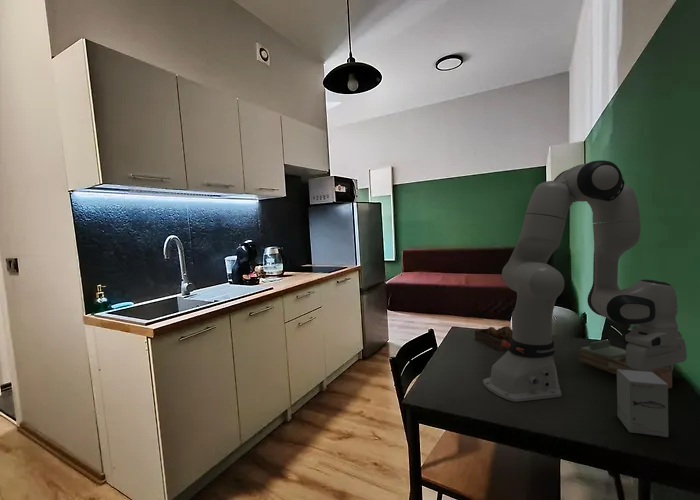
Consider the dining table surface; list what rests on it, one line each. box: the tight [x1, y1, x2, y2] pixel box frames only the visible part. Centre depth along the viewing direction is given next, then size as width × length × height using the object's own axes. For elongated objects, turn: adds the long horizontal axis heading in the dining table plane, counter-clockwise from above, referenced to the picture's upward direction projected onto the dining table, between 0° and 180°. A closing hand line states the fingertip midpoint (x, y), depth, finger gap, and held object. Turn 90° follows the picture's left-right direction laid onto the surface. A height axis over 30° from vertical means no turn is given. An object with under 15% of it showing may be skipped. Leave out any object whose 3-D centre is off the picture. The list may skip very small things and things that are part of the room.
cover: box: [580, 338, 626, 359], centre depth 116 cm, size 10×10×3 cm
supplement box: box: [616, 369, 669, 438], centre depth 79 cm, size 7×7×13 cm
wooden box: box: [579, 344, 663, 376], centre depth 111 cm, size 14×19×4 cm
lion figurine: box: [487, 325, 512, 340], centre depth 139 cm, size 15×5×9 cm, turn 26°
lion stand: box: [474, 327, 512, 353], centre depth 140 cm, size 8×16×4 cm, turn 16°
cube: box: [652, 368, 673, 390], centre depth 97 cm, size 4×4×5 cm
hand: (657, 380), depth 98 cm, fingers open, 6 cm apart
